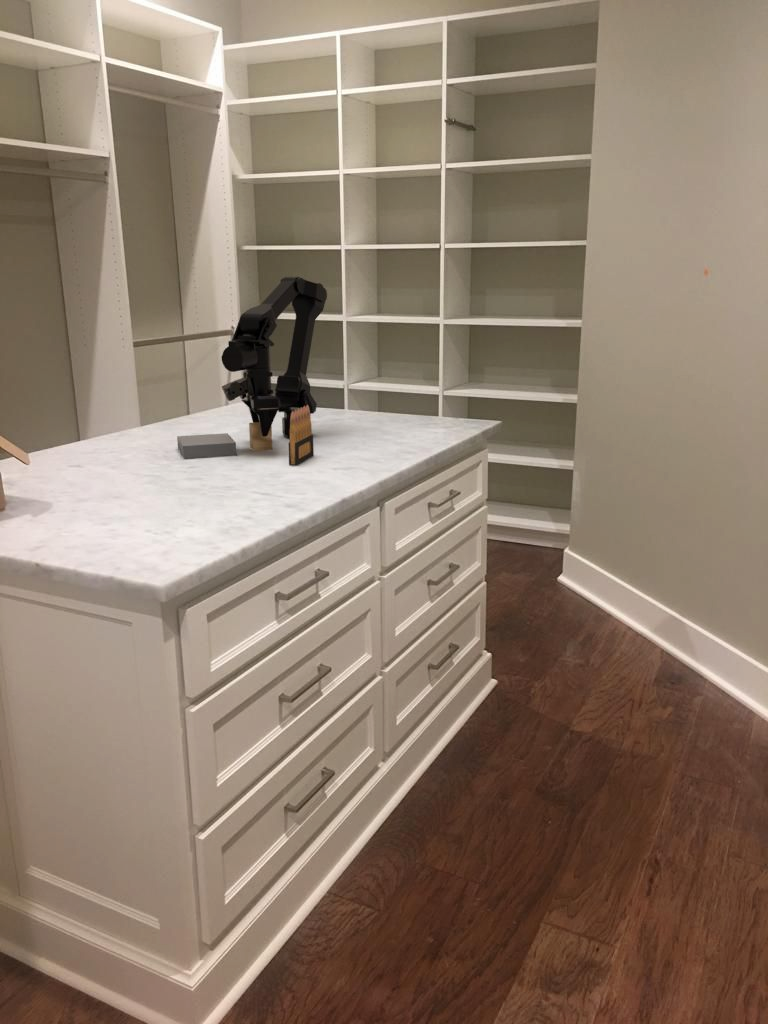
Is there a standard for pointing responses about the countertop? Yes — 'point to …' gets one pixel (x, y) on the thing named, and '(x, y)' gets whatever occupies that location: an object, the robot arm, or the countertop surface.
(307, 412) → the ammunition clip
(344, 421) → the countertop surface
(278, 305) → the robot arm
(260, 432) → the wooden block
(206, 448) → the slate base
